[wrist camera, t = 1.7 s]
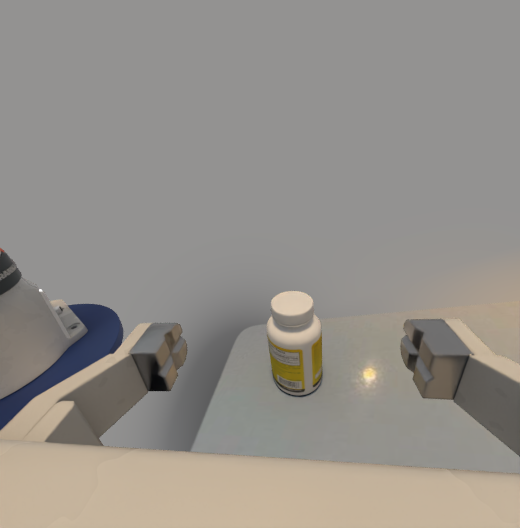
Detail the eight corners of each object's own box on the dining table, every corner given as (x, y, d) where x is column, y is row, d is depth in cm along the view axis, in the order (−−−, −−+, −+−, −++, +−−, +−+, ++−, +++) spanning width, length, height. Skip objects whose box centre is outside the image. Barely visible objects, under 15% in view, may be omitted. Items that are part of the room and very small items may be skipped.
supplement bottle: (308, 350, 30) (305, 282, 26) (331, 387, 25) (333, 310, 21) (266, 364, 29) (256, 294, 25) (283, 405, 24) (274, 327, 20)
